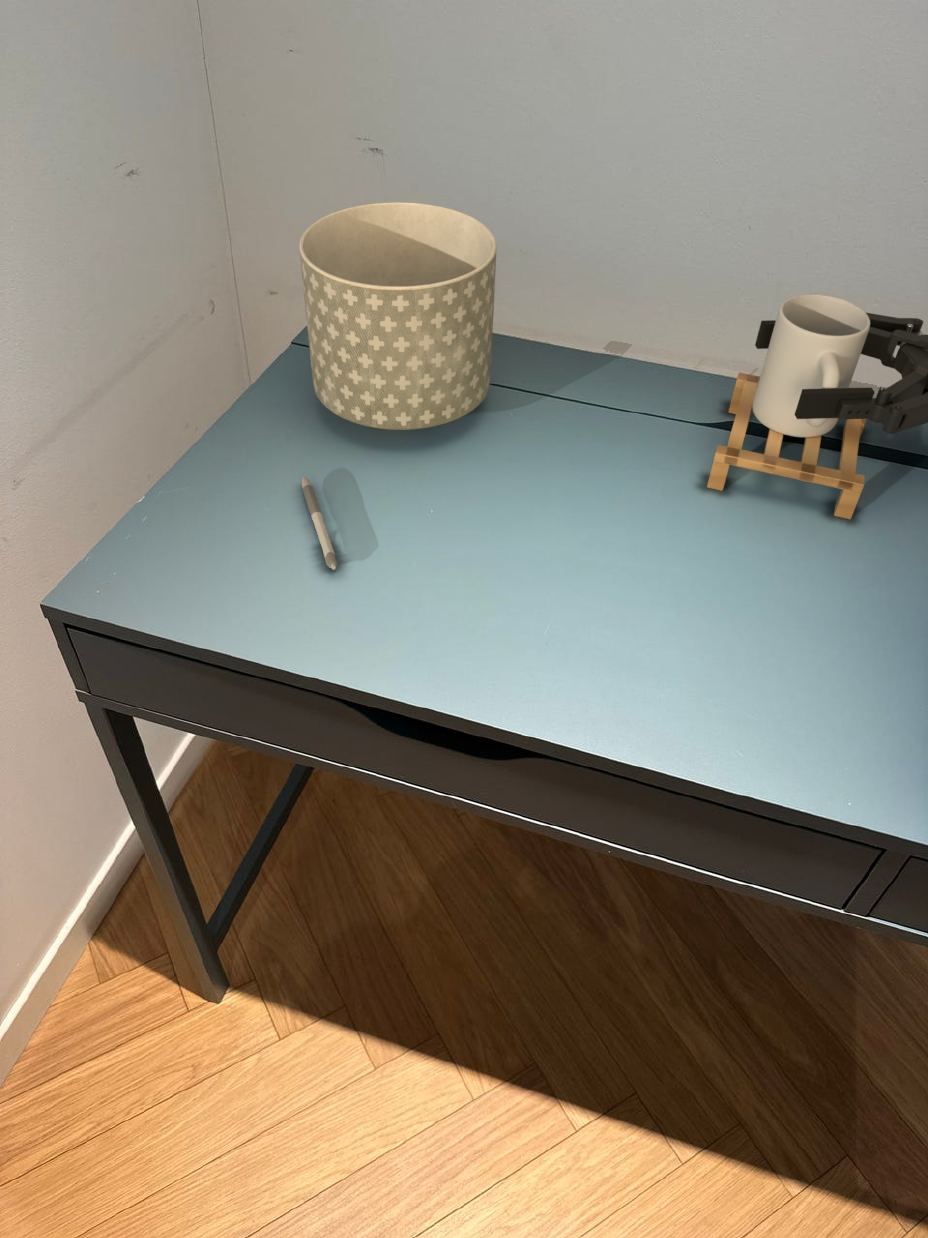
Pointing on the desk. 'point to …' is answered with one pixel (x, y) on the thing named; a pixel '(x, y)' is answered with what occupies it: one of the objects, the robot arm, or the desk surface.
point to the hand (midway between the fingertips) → (778, 367)
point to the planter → (399, 313)
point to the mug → (808, 359)
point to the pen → (319, 523)
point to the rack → (784, 467)
